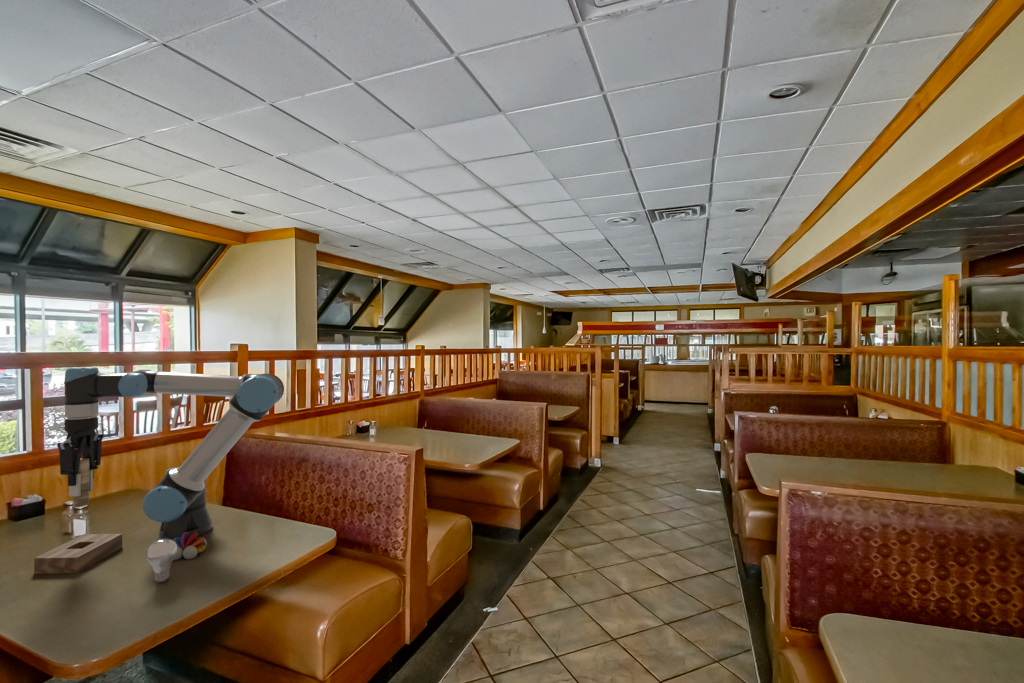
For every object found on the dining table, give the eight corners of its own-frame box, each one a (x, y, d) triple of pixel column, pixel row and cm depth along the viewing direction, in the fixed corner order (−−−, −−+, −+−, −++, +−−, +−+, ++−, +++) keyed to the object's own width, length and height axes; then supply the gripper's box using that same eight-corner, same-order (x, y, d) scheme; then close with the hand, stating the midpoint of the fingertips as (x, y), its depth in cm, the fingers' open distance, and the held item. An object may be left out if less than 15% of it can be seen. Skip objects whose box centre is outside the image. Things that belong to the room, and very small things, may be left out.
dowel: (92, 502, 140) (92, 457, 140) (81, 507, 137) (82, 461, 137) (80, 502, 140) (80, 457, 140) (69, 507, 136) (69, 461, 136)
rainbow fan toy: (197, 560, 139) (197, 537, 139) (162, 563, 137) (162, 539, 137) (211, 548, 147) (211, 526, 147) (178, 550, 146) (178, 527, 146)
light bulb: (152, 591, 122) (152, 547, 122) (141, 584, 125) (141, 541, 125) (182, 579, 128) (182, 537, 127) (171, 573, 131) (171, 532, 131)
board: (122, 547, 147) (122, 533, 147) (77, 572, 131) (77, 557, 131) (83, 548, 146) (83, 534, 146) (34, 573, 130) (34, 558, 130)
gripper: (92, 412, 146) (91, 484, 147) (41, 422, 130) (41, 503, 130) (116, 412, 147) (116, 484, 147) (69, 422, 130) (69, 503, 130)
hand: (81, 493), depth 138 cm, fingers closed on dowel, 4 cm apart
